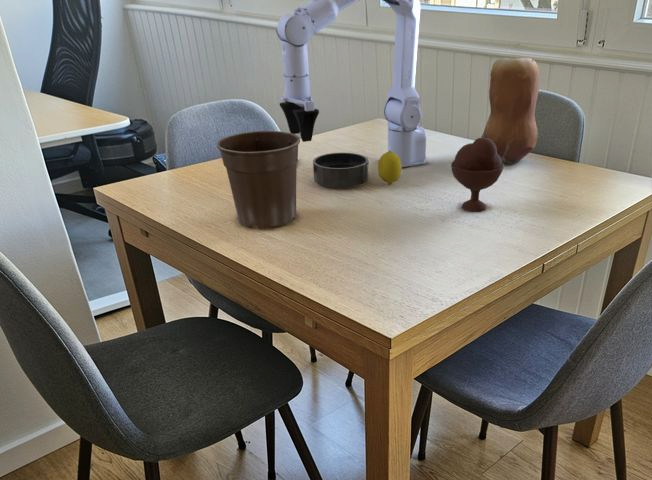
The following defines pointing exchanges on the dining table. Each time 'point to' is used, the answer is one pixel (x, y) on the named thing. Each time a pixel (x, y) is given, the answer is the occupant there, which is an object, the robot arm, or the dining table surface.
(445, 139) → the dining table surface
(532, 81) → the butternut squash
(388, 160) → the lemon
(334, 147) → the dining table surface
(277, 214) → the plant pot
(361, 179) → the bowl
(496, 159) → the ice cream bowl
